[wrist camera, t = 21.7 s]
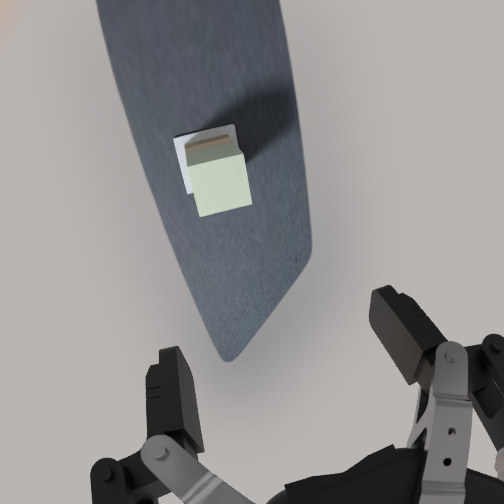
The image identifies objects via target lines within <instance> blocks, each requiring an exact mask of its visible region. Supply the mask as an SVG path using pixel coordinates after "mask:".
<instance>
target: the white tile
mask: <svg viewBox="0 0 504 504" xmlns="http://www.w3.org/2000/svg"><path fill="white" fill-rule="evenodd" d="M227 134H228V136H229V137H230V138H231V139H232V141H233V142H234V143H235V144H236V145H237V146H238V142H237V136H236V131H235V126H234V124H231V125H226V126H221V127H217V128H212V129H208V130H204V131H199V132H195V133H191V134H187V135H183V136H180V137H176V138H173V140H174V144H175V148H176V152H177V156H178V160H179V163H180V167H181V171H182V175H183V179H184V183H185V186H186V190H187V194H190V193H194V192H193V188H192V184H191V180H190V176H189V172H188V168H187V161H186V155H185V147H184V144H188V143H192V142H196V141H200V140H205V139H209V138H213V137H218V136H222V135H227ZM238 148H239V147H238Z"/></svg>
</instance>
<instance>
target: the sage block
mask: <svg viewBox="0 0 504 504" xmlns="http://www.w3.org/2000/svg"><path fill="white" fill-rule="evenodd" d="M186 161H187V168H188V172H189V176H190V180H191V184H192V188H193V192H194V196H195V200H196V204H197V208H198V212H199V216H200V217H202V216H206V215H210V214H214V213H218V212H222V211H226V210H230V209H234V208H238V207H243V206H247V205H251V204H252V201H251V195H250V189H249V183H248V178H247V172H246V166H245V160H244V154H243V153H242V151H241V150H240V149H239V148H238V146H237V145H236V144H235V143H234V142H230V143H226V144H221V145H217V146H212V147H208V148H204V149H200V150H195V151H191V152H187V153H186Z"/></svg>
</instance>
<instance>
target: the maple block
mask: <svg viewBox="0 0 504 504" xmlns="http://www.w3.org/2000/svg"><path fill="white" fill-rule="evenodd" d="M230 142H233V141H232V139H231V138H230V137H229V136H228V134H227V135H222V136H218V137H213V138H209V139H205V140H200V141H196V142H192V143H188V144H184V147H185V155H186V153H187V152H191V151H195V150H200V149H204V148H208V147H212V146H217V145H221V144H226V143H230Z"/></svg>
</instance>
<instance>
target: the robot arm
mask: <svg viewBox="0 0 504 504" xmlns="http://www.w3.org/2000/svg"><path fill="white" fill-rule="evenodd" d="M369 321H370V325H371V327H372V329H373V330H374V332H375V333H376V335H377V336H378V338H379V339H380V341H381V343H382V344H383V345H384V347H385V349H386V350H387V352H388V353H389V355H390V356H391V358H392V359H393V361H394V362H395V364H396V366H397V367H398V369H399V370H400V372H401V374H402V375H403V377H404V378H405V380H406V382H407V383H408V385H411V384H413V383H415V382H418V383H419V385H420V388H419V393H418V400H417V406H416V412H415V418H414V424H413V428H412V431H411V434H410V436H409V439H408V442H407V446H406V448H398V449H395V447H394V445H393V444H392V445H390V446H388V447H385V448H383V449H381V450H379V451H377V452H374V453H372V454H370V455H368V456H367V457H365V458H364V459H363V460H361V461H360V462H358V463H357V464H355V465H354V466H353V467H351V468H350V469H348V470H347V471H345V472H343V473H337V474H329V475H320V476H312V477H309V478H306V479H302V480H299V481H296V482H292V483H289V484H285V485H284V486H285V490H283V491H281V492H280V493H278V494H277V495H275V496H274V497H273V498H272V499H270V500H269V501H268V502H267V504H504V337H502V336H501V335H498V334H490V335H488V336H486V337H485V339H484V340H483V342H482V344H479V345H473V346H467V347H463V346H462V345H460V344H459V343H456V342H453V341H448V340H447V339H446V338H445V337H444V336H443V335H442V333H441V332H440V331H439V329H438V328H437V327H436V326H435V324H434V323H433V322H432V321H431V320H430V318H429V317H428V316H426V313H425V312H424V311H423V310H422V309H420V306H419V305H418V304H417V303H416V302H415V300H414V299H413V298H411V297H409V296H407V295H406V294H404V293H401V294H398V293H397V292H396V291H395V289H394V288H393V287H392V286H391V285H387V286H384V287H381V288H378V289H375V290H373V291H372V295H371V303H370V310H369ZM494 381H495V382H494ZM496 384H497V385H496ZM497 386H498V387H497ZM499 389H500V390H499ZM501 392H502V393H501ZM468 399H469V400H468ZM473 408H474V410H475V411H476V413H477V415H478V417H479V418H480V420H481V422H482V424H483V426H484V427H485V429H486V431H487V432H488V435H489V436H490V439H491V440H492V442H493V444H494V446H495V448H496V450H497V452H498V453H497V456H496V463H495V470H496V471H497V472H498V477H497V478H495V477H492V476H489V475H486V474H483V473H480V472H477V471H474V470H471V469H469V468H467V461H468V454H469V446H470V437H471V425H472V409H473ZM146 416H147V439H146V442H145V443H144V444H143V446H142V448H141V449H140V450H139V451H138V452H136V453H134V454H132V455H130V456H128V457H126V458H124V459H121V460H119V461H116V460H115V459H112V458H102V459H100V460H98V461H97V462H96V463H95V464H94V465H93V467H92V469H91V473H90V478H91V491H92V503H93V504H159V503H158V498H159V497H161V496H163V495H165V494H168V493H170V492H173V493H174V494H175V495H176V496H177V497H178V498H180V500H182V501H183V503H184V504H255V503H253V502H252V501H250V500H249V499H248V498H246V497H245V496H243V495H242V494H241V493H239V492H238V491H236V490H235V489H234V488H232V487H231V486H230V485H228V484H227V483H226V482H224V481H223V480H222V479H220V478H219V477H218V476H216V475H214V474H213V473H212V472H210V471H209V470H208V469H207V468H205V467H204V466H203V465H202V464H201V463H199V462H198V456H197V453H202V452H204V446H203V440H202V434H201V428H200V421H199V415H198V408H197V402H196V394H195V387H194V381H193V376H192V373H191V370H190V367H189V365H188V363H187V362H186V360H185V358H184V356H183V354H182V352H181V350H180V348H179V346H174V347H169V348H165V349H161V350H159V364H155V365H151V366H150V368H149V370H148V372H147V375H146Z"/></svg>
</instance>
